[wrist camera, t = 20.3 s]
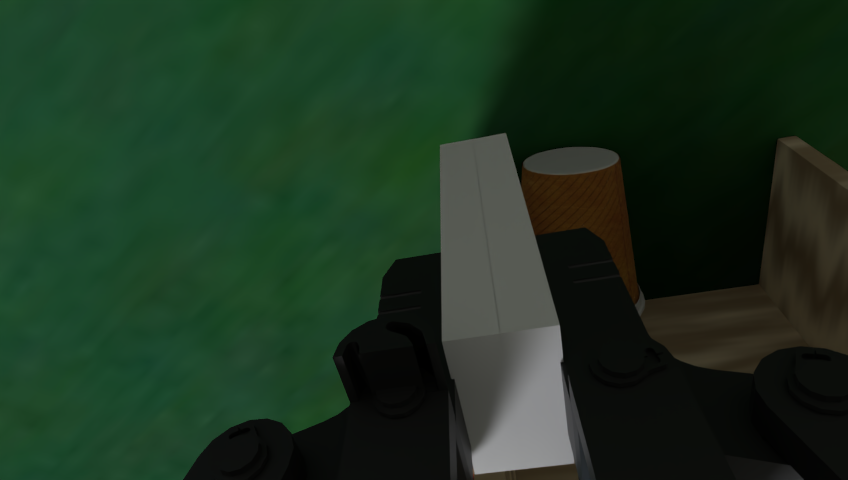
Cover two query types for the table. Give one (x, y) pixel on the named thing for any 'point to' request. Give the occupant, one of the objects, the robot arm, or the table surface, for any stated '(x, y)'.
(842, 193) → the zigzag arch block
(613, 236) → the disposable coffee cup
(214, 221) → the table surface
